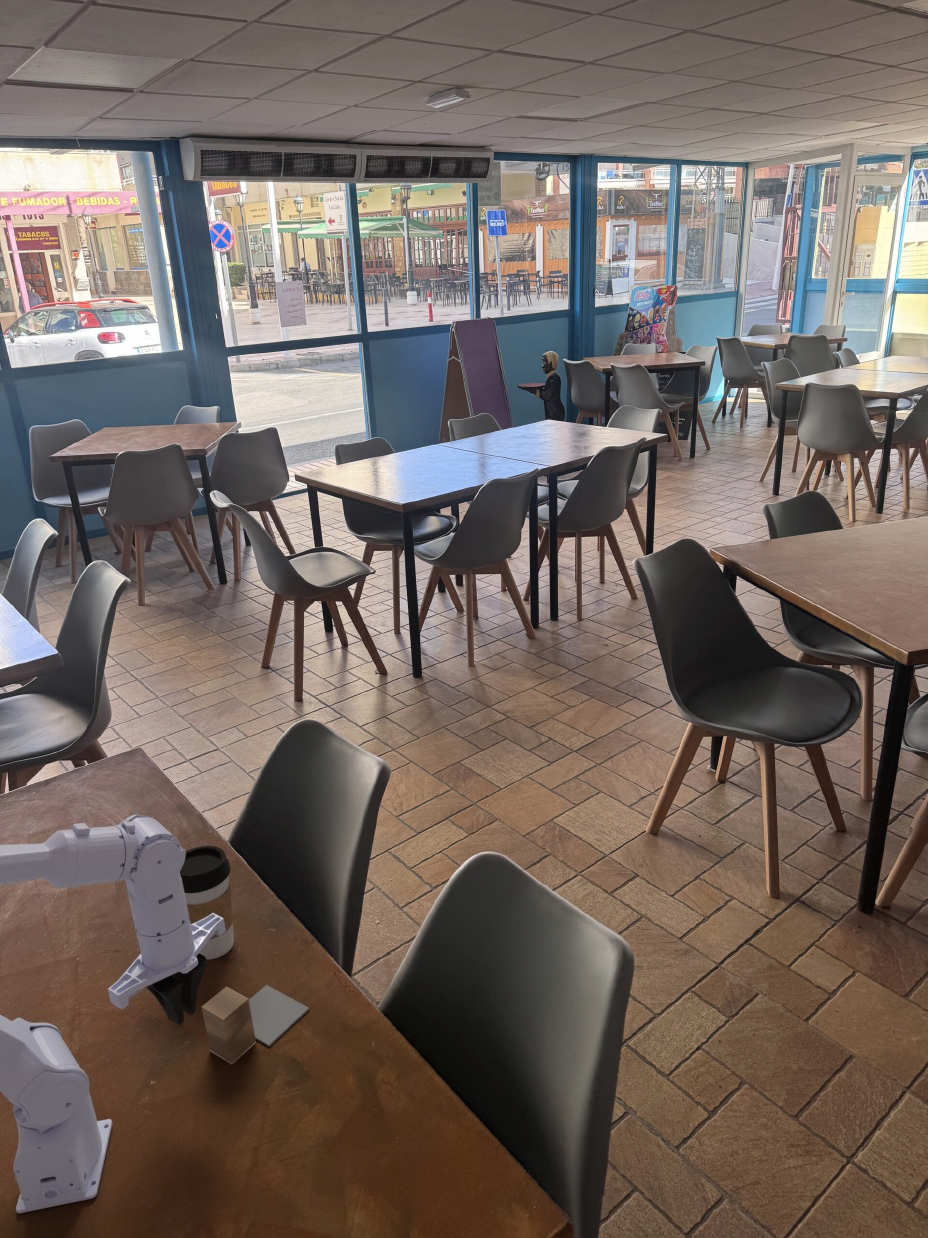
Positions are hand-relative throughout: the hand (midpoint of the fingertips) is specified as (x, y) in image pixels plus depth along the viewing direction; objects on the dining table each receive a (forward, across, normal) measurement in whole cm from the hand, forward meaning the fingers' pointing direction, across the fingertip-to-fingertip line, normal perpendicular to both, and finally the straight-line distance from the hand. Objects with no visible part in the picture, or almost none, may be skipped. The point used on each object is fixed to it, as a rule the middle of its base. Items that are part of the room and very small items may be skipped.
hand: (181, 1015), depth 102 cm
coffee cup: (+10, +17, +17) cm, 26 cm away
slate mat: (+10, +12, 0) cm, 15 cm away
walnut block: (+10, +6, 0) cm, 12 cm away
